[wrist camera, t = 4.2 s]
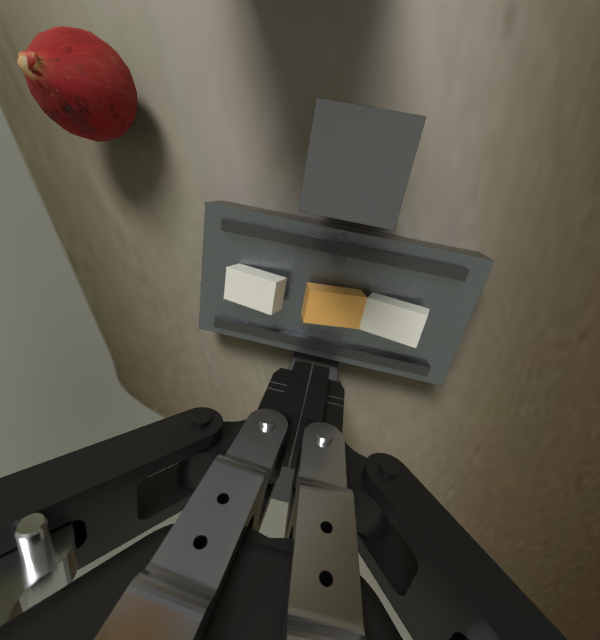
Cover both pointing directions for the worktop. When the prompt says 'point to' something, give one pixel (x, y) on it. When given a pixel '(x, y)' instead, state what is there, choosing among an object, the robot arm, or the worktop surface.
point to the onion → (80, 83)
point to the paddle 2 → (394, 319)
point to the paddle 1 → (254, 288)
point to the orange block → (333, 305)
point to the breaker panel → (343, 271)
